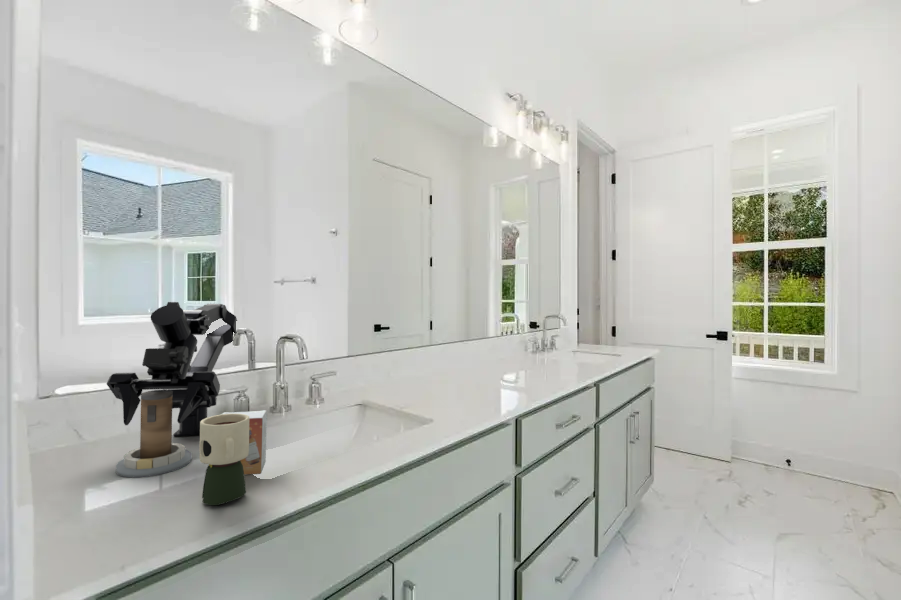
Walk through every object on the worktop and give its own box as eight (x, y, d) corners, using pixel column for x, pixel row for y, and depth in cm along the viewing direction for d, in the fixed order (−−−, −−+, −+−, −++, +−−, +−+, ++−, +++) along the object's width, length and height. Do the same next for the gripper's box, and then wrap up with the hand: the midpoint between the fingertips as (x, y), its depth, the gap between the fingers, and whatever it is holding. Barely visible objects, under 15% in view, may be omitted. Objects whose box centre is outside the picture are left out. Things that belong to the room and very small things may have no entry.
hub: (134, 455, 88) (134, 442, 88) (199, 451, 90) (200, 439, 90) (102, 480, 76) (102, 465, 76) (178, 474, 79) (178, 460, 79)
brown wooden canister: (145, 455, 85) (146, 390, 85) (174, 453, 86) (175, 389, 86) (134, 466, 79) (135, 397, 79) (165, 463, 81) (166, 395, 81)
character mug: (195, 492, 72) (196, 414, 72) (242, 482, 76) (243, 408, 76) (202, 520, 63) (203, 431, 63) (254, 507, 67) (256, 424, 67)
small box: (213, 478, 78) (214, 419, 77) (221, 466, 83) (222, 411, 83) (262, 474, 80) (262, 417, 80) (266, 462, 85) (267, 409, 85)
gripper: (112, 332, 85) (76, 402, 74) (216, 332, 89) (196, 398, 78) (132, 365, 92) (102, 433, 82) (227, 364, 97) (210, 428, 86)
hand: (152, 423), depth 82 cm, fingers open, 9 cm apart
